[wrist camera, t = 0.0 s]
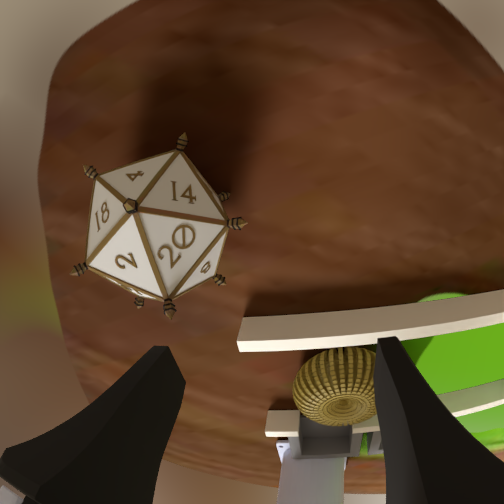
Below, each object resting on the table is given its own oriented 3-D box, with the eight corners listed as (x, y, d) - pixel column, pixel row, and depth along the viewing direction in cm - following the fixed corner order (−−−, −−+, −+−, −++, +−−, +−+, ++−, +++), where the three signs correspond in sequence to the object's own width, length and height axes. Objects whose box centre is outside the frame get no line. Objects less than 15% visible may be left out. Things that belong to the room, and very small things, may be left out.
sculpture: (364, 360, 18) (413, 408, 20) (358, 318, 21) (405, 371, 23) (268, 404, 21) (329, 443, 23) (273, 365, 25) (329, 407, 27)
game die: (196, 156, 21) (177, 66, 11) (266, 258, 21) (300, 231, 11) (90, 227, 20) (6, 186, 10) (153, 334, 20) (92, 369, 10)
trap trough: (492, 410, 25) (497, 427, 23) (276, 440, 31) (273, 458, 29) (551, 279, 17) (565, 296, 15) (243, 317, 23) (236, 341, 20)
